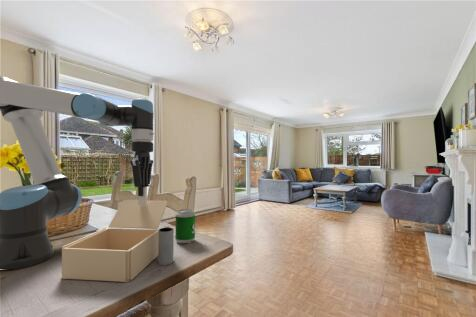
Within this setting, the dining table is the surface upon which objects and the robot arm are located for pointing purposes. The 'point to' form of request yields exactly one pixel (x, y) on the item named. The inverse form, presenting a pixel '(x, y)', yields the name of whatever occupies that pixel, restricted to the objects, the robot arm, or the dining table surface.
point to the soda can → (185, 226)
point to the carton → (110, 255)
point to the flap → (139, 214)
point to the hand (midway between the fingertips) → (142, 204)
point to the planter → (165, 245)
